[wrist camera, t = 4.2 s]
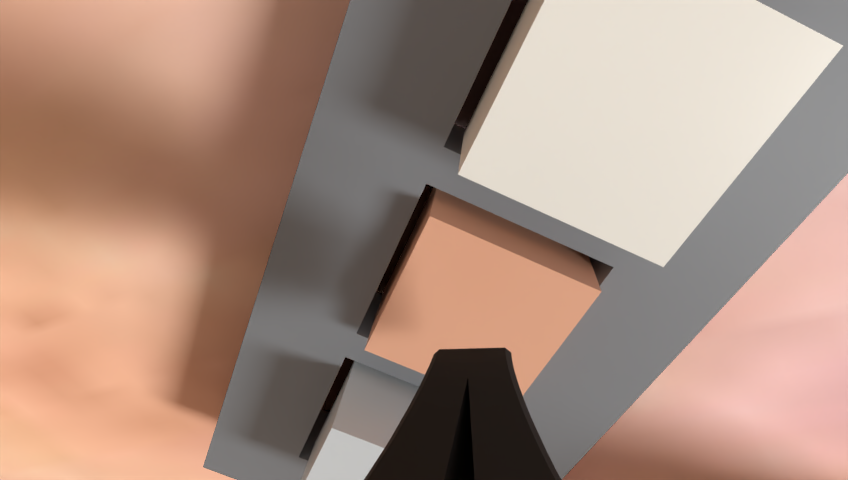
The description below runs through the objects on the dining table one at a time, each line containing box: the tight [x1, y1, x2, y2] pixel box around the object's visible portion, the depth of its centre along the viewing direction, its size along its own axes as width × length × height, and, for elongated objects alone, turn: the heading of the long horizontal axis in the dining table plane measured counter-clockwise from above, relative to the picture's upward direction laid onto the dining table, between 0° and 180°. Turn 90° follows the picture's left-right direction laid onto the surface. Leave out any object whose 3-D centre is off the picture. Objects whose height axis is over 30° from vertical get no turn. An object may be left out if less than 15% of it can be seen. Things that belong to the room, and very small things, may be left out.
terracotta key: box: [365, 187, 602, 395], centre depth 12 cm, size 4×4×2 cm
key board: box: [203, 0, 848, 480], centre depth 13 cm, size 10×20×2 cm, turn 156°
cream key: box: [458, 0, 843, 267], centre depth 9 cm, size 4×4×2 cm
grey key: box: [301, 361, 419, 480], centre depth 14 cm, size 4×4×2 cm
